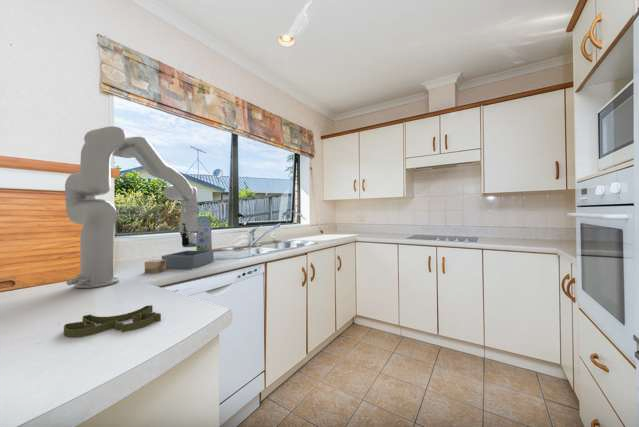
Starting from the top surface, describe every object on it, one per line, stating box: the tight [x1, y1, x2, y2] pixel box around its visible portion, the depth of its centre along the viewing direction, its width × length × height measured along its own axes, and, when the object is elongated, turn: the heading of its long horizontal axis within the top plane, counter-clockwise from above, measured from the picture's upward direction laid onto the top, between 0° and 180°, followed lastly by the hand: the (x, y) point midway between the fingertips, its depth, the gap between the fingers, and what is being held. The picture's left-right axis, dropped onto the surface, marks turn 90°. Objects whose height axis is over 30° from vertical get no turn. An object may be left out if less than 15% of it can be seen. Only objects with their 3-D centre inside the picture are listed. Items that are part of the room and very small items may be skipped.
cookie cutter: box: [63, 304, 162, 339], centre depth 62 cm, size 18×12×2 cm, turn 121°
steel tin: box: [181, 232, 197, 248], centre depth 138 cm, size 7×7×7 cm
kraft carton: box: [144, 259, 167, 274], centre depth 121 cm, size 6×6×5 cm
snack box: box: [195, 214, 213, 251], centre depth 162 cm, size 22×9×26 cm, turn 25°
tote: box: [161, 249, 214, 269], centre depth 138 cm, size 20×16×6 cm
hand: (189, 244), depth 138 cm, fingers closed on steel tin, 6 cm apart
